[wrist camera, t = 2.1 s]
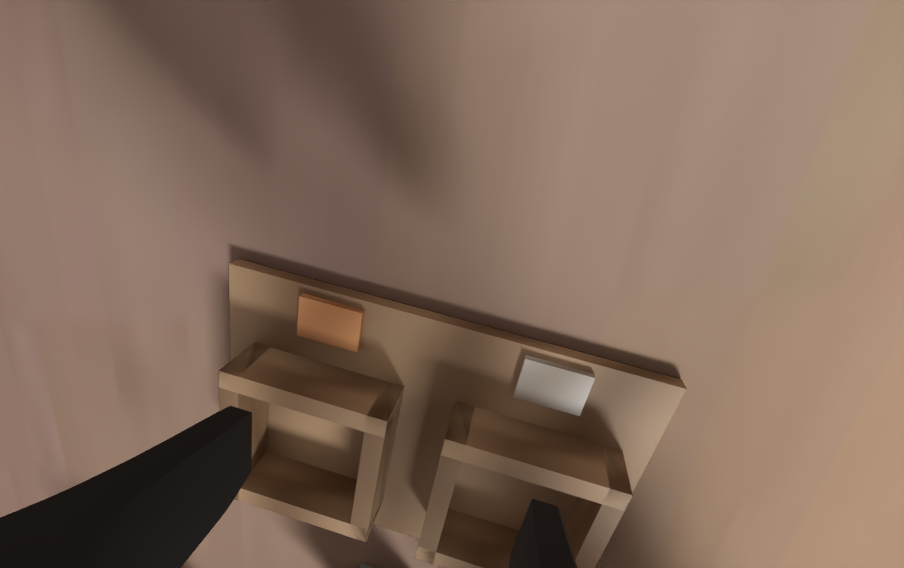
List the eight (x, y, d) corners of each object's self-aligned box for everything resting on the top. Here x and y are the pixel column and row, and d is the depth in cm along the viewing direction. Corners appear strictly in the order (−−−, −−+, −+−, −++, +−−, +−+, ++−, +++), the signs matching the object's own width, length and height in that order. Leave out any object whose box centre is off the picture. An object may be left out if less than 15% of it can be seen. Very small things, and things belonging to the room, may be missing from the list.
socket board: (681, 379, 16) (707, 430, 14) (580, 579, 21) (585, 644, 19) (238, 258, 18) (188, 284, 15) (239, 469, 23) (201, 514, 20)
